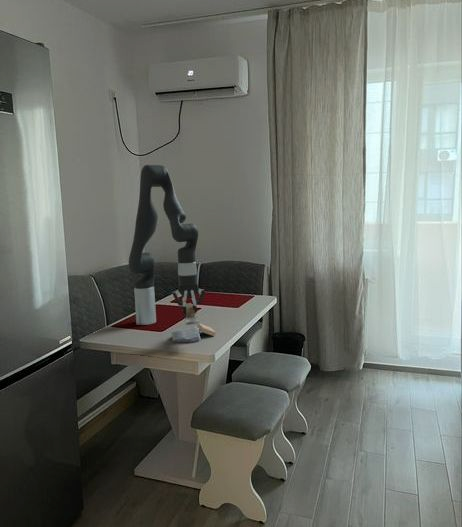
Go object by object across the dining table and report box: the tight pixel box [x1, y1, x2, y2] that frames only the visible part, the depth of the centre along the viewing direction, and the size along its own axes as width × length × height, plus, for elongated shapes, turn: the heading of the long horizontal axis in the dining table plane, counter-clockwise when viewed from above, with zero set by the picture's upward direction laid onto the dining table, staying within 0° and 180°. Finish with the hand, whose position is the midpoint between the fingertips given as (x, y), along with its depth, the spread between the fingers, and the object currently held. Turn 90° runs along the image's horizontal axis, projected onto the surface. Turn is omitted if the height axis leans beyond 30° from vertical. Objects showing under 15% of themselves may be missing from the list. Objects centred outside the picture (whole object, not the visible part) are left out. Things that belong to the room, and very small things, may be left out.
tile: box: [196, 322, 217, 337], centre depth 193 cm, size 6×2×8 cm
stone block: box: [171, 326, 202, 343], centre depth 188 cm, size 12×5×10 cm
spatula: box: [184, 302, 200, 326], centre depth 185 cm, size 5×18×4 cm, turn 11°
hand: (189, 314), depth 187 cm, fingers closed on spatula, 3 cm apart
